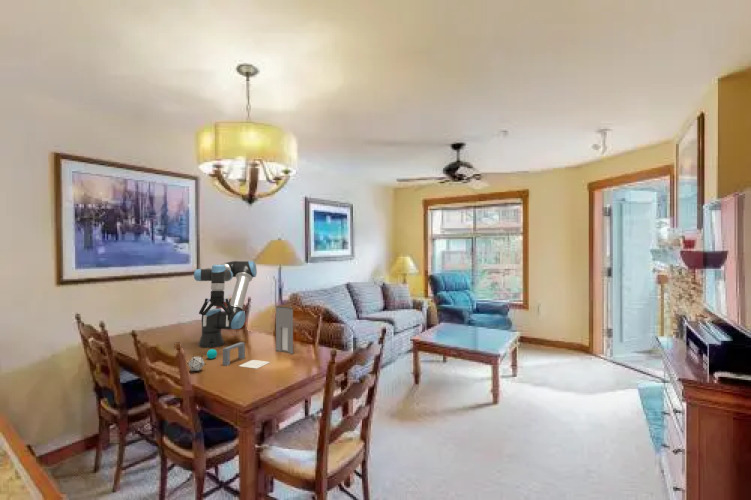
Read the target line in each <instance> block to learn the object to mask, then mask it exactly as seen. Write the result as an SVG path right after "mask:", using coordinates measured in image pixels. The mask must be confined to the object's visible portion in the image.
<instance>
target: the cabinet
mask: <svg viewBox="0 0 751 500" xmlns="http://www.w3.org/2000/svg"><path fill="white" fill-rule="evenodd" d="M275 352H281V353H285V354H287V353H288V354H289V355H293V354H294V307H293V305H292V303H290V302H288V303H286V304H281V305H276V306H275Z"/></svg>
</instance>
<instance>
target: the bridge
mask: <svg viewBox="0 0 751 500" xmlns="http://www.w3.org/2000/svg"><path fill="white" fill-rule="evenodd" d="M237 348H238V349H237ZM245 348H246V343H245V342H242V341H239V342H237V343H234V344H230V345H229V346H226V347H223V348H222V366H226V367H227V366H230V364H231V362H230V361H231V358H230V357H231V354H230V353H231V350H234V349H237V353H238V354H237V356H238V357H237V358H238V360H244V359H245V358H246V349H245Z"/></svg>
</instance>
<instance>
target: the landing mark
mask: <svg viewBox="0 0 751 500" xmlns="http://www.w3.org/2000/svg"><path fill="white" fill-rule="evenodd" d="M269 363H271V361H266V360H265V361H264V360H259V359H258V360H257V359H251V360H248V361H246V362H244V363H242V364H240V365H238V367H241V368H248V369H249V368H250V369H254V370H255V369H256V370H257V369H260V368H261V367H263V366H265V365H268V364H269Z"/></svg>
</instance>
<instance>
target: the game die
mask: <svg viewBox="0 0 751 500" xmlns="http://www.w3.org/2000/svg"><path fill="white" fill-rule="evenodd" d="M186 363H187V364H186V365H187V366H189V367H188V368H189V370H190V371H189V372H190V373H191V372H195V371H196V372H199V373H201V370H202V369H203V367H204V366H205V365H206V366H207V363H206V362H205V361H204V359H203V355H201V356H195V355H192V358H191V359H190V360H189V361H188V362H186Z"/></svg>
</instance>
